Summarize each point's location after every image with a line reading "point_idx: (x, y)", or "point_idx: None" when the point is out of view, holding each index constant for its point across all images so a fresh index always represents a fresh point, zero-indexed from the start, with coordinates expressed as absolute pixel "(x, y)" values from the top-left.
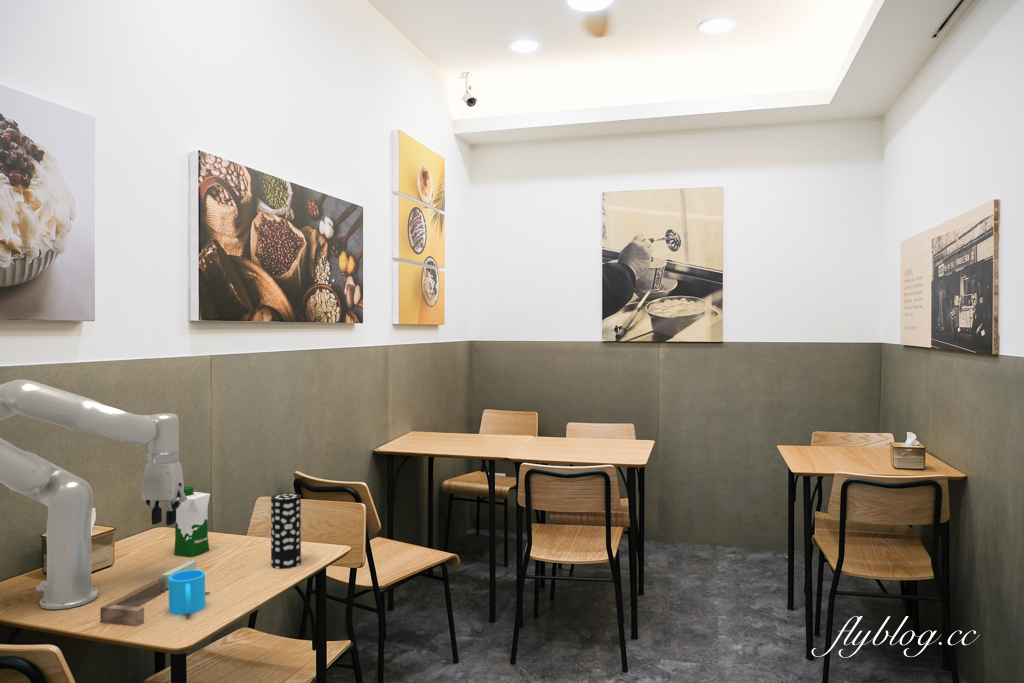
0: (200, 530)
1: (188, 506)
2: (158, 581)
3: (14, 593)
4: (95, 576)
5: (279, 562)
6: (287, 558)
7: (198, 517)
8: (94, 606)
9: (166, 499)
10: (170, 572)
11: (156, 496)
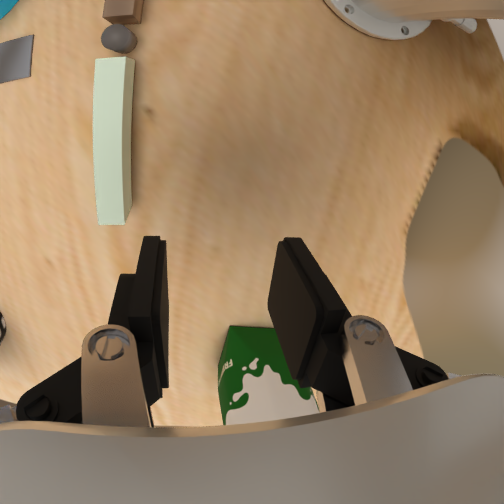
0: (225, 396)
1: None
2: (109, 12)
3: (497, 57)
4: (412, 156)
5: None
6: None
7: None
8: None
9: (62, 442)
10: (106, 86)
11: (330, 481)
